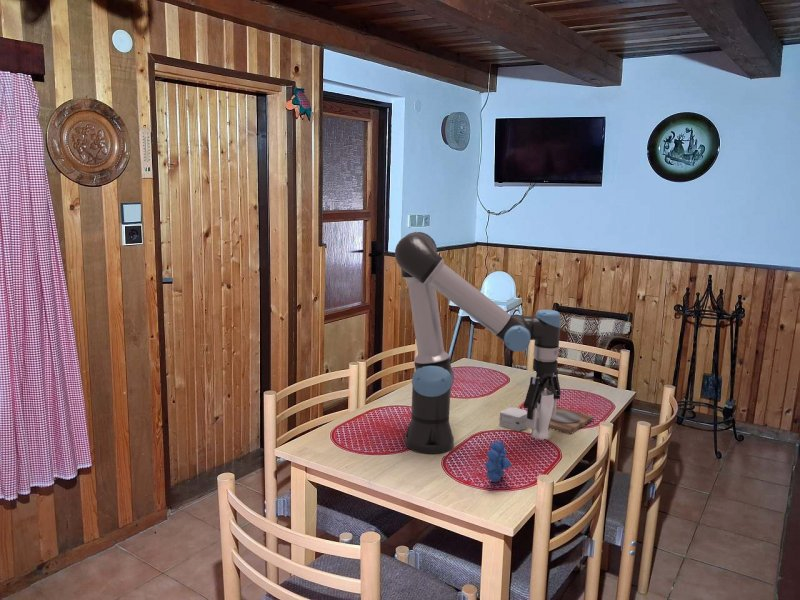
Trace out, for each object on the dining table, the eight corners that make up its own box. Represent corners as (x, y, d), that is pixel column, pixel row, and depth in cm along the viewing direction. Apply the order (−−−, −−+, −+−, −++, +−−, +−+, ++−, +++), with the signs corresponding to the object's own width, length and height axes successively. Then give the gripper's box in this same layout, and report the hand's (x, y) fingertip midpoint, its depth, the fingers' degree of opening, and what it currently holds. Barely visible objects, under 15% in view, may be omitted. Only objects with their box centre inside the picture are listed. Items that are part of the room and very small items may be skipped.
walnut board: (569, 434, 216) (570, 428, 216) (532, 423, 225) (532, 417, 225) (593, 420, 230) (593, 414, 229) (556, 410, 238) (557, 405, 238)
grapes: (503, 494, 173) (505, 451, 171) (478, 488, 176) (481, 445, 174) (516, 477, 183) (519, 436, 181) (493, 472, 186) (495, 431, 184)
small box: (498, 426, 222) (499, 411, 221) (510, 420, 228) (511, 406, 227) (518, 432, 217) (519, 417, 216) (530, 426, 223) (531, 411, 222)
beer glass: (549, 433, 216) (552, 389, 214) (552, 441, 209) (555, 396, 207) (528, 432, 217) (531, 388, 214) (530, 440, 210) (533, 395, 207)
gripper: (536, 368, 197) (532, 436, 200) (574, 354, 216) (569, 416, 219) (514, 363, 202) (510, 430, 205) (553, 349, 220) (549, 410, 224)
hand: (541, 423), depth 212 cm, fingers open, 13 cm apart
